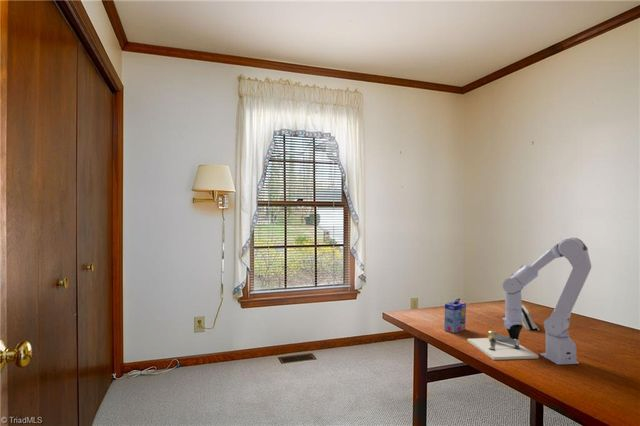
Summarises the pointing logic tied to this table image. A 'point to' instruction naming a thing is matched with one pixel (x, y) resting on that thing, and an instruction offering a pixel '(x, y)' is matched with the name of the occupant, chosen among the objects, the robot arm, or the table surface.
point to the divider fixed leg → (492, 345)
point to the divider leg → (502, 338)
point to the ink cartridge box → (455, 316)
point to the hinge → (528, 320)
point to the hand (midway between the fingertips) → (514, 343)
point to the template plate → (502, 350)
